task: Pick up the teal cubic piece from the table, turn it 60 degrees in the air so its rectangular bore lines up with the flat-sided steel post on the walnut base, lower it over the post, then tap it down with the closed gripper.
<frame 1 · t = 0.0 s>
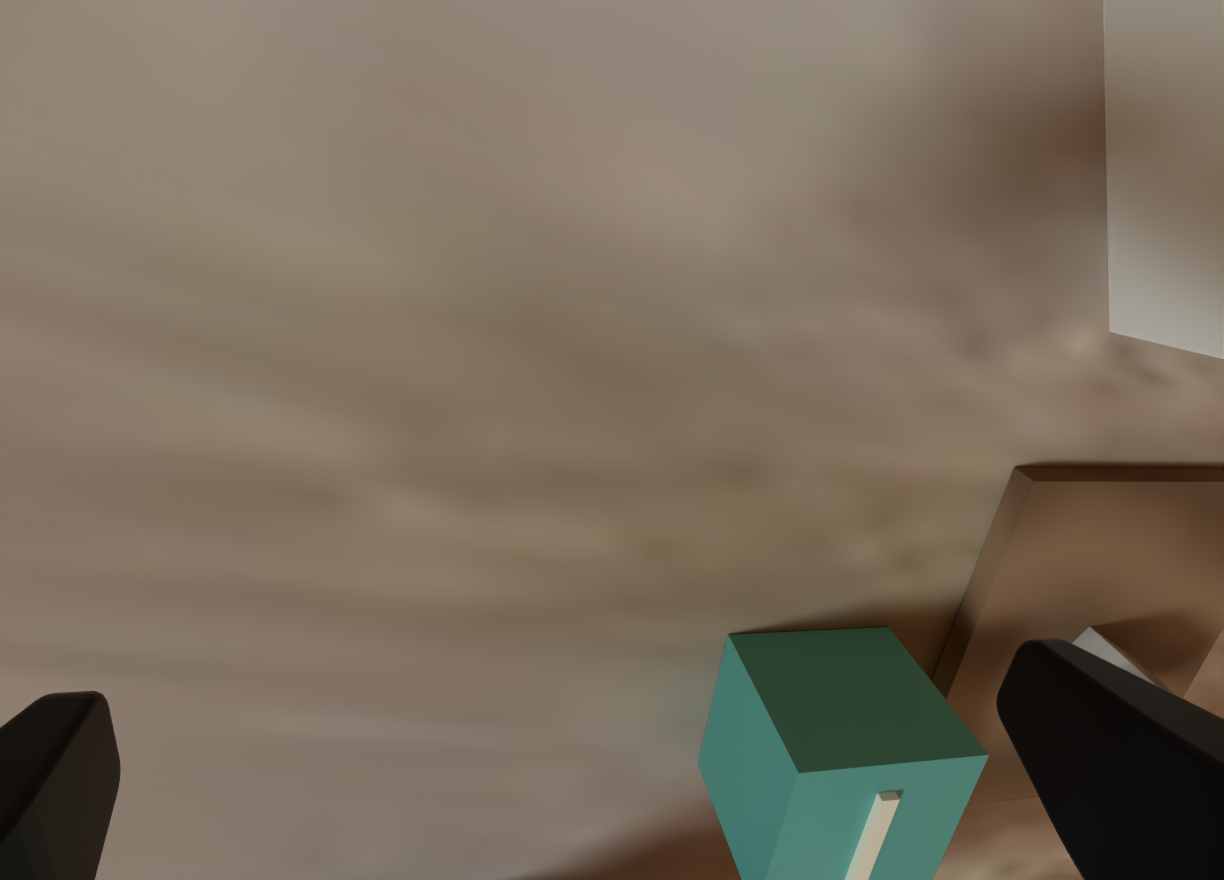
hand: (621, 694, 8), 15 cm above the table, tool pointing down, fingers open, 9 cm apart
teal cubic piece: (791, 696, 30), on the table
keyed post base: (1072, 640, 32), on the table
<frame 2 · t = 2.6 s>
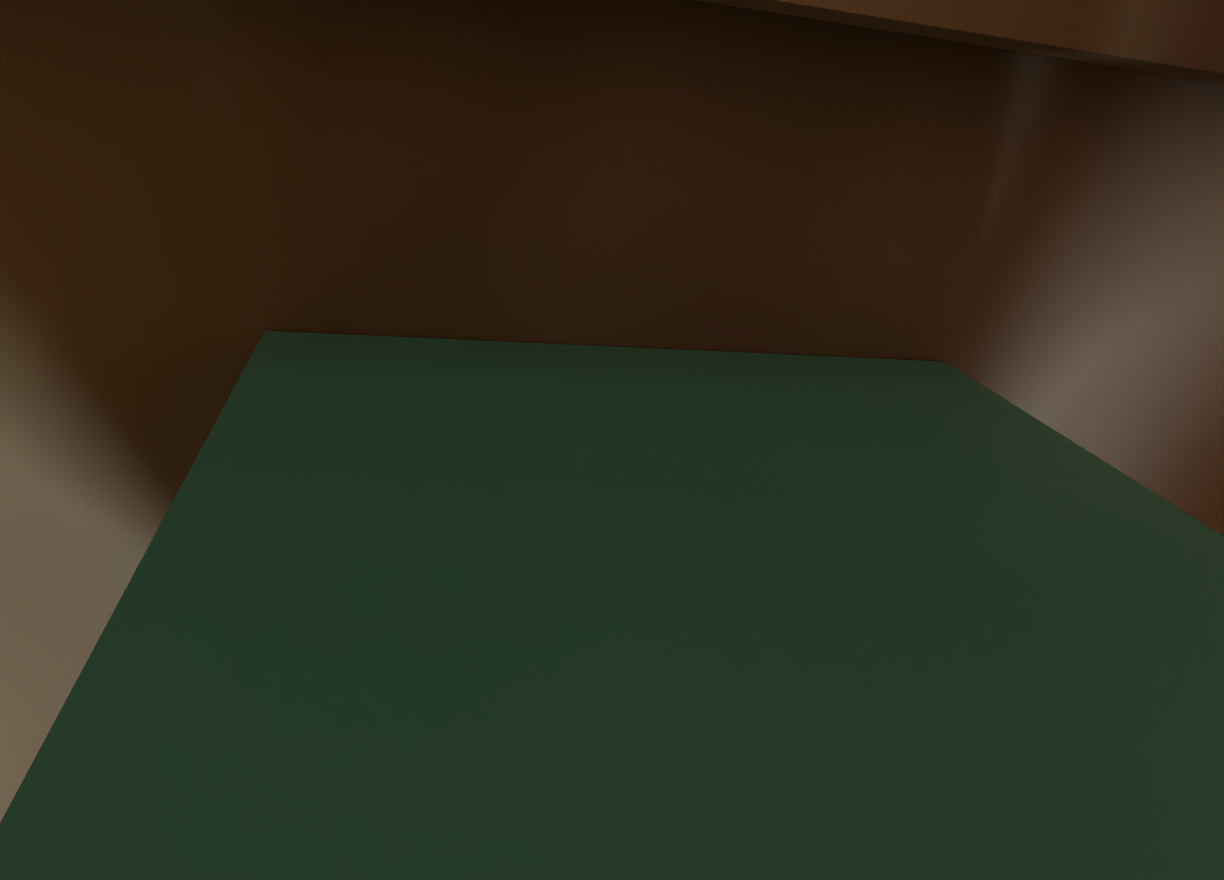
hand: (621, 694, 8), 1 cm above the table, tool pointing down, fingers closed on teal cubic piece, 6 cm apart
teal cubic piece: (600, 624, 9), on the table, touching gripper
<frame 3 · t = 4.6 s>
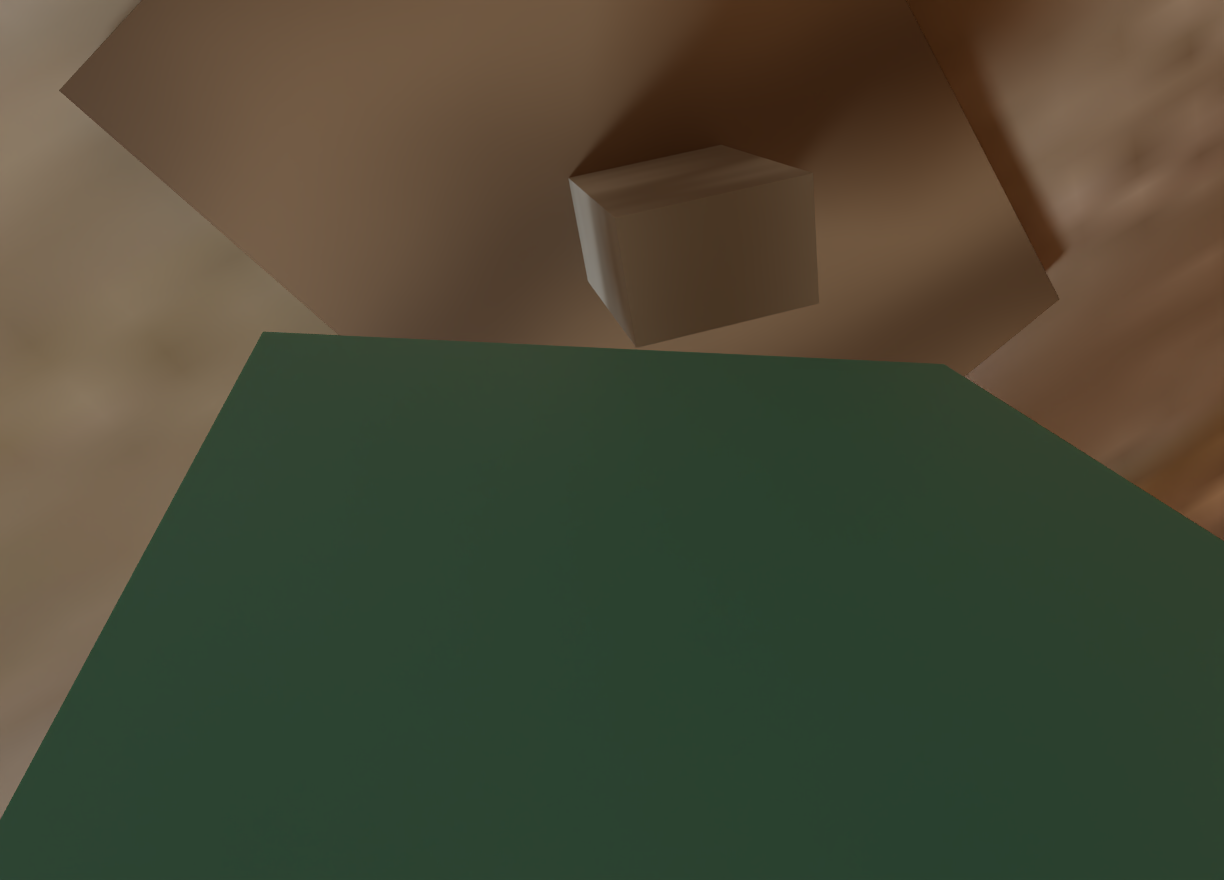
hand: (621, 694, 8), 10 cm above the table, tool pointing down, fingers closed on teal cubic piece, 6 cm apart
teal cubic piece: (599, 626, 9), point 9 cm above the table, touching gripper
keyed post base: (640, 205, 16), on the table
when the fingers open (3 cm above the table, at t = 6.8 s): teal cubic piece stays where it is, resting on keyed post base.
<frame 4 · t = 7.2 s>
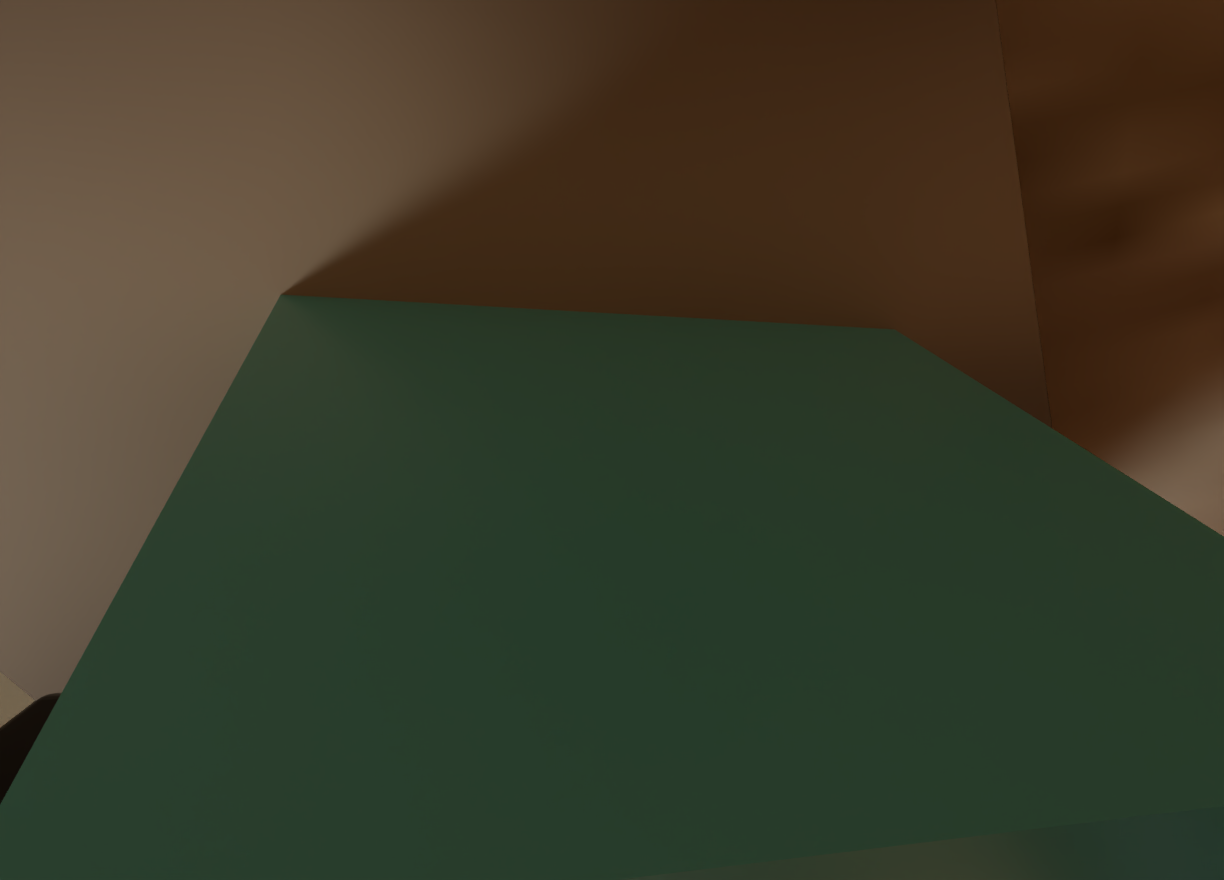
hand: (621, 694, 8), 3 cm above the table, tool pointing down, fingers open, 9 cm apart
teal cubic piece: (583, 571, 9), point 1 cm above the table, touching keyed post base
keyed post base: (574, 525, 10), on the table
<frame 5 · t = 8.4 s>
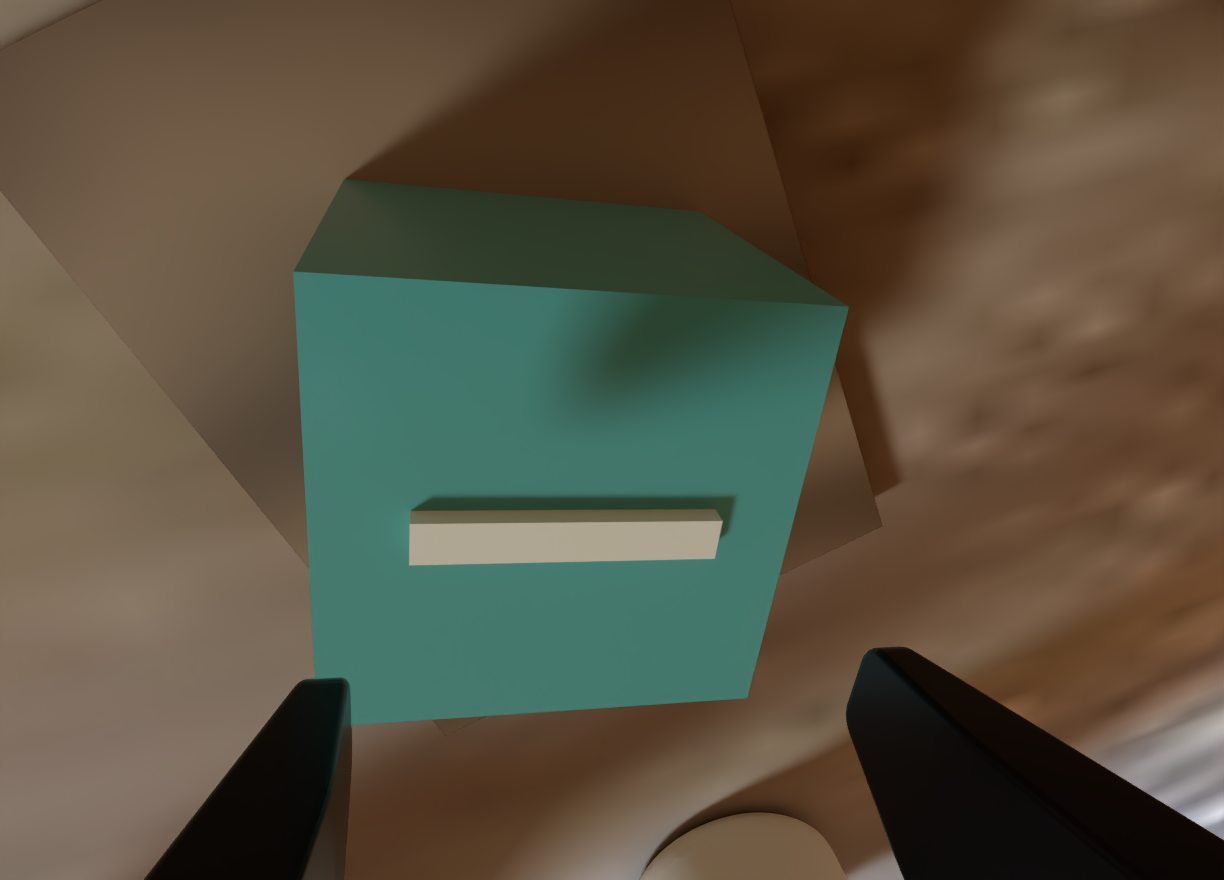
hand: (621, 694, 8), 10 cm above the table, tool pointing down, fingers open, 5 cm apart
teal cubic piece: (519, 363, 15), point 1 cm above the table, touching keyed post base
keyed post base: (516, 345, 16), on the table
water bottle: (724, 868, 26), on the table
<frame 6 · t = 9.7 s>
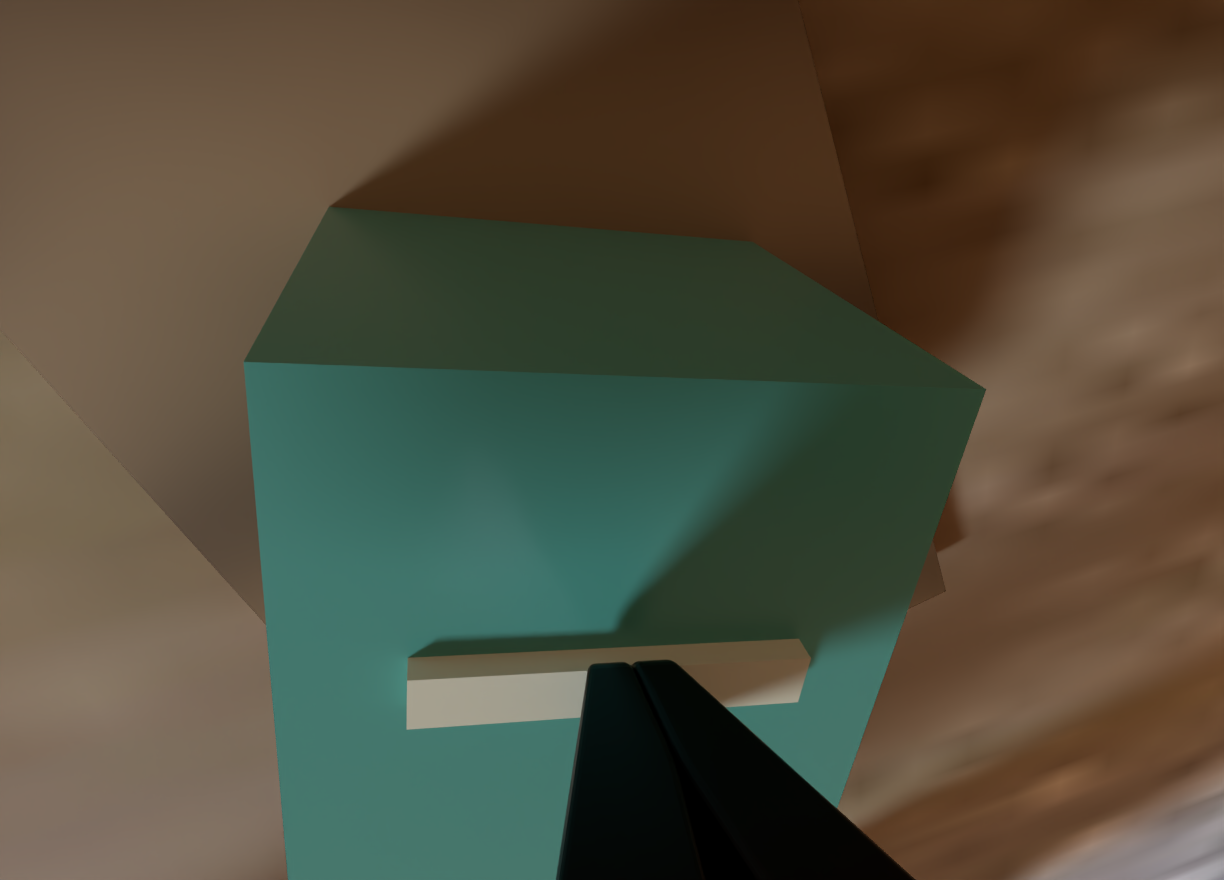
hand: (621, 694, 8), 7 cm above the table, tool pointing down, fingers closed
teal cubic piece: (537, 418, 13), point 1 cm above the table, touching keyed post base
keyed post base: (533, 394, 14), on the table
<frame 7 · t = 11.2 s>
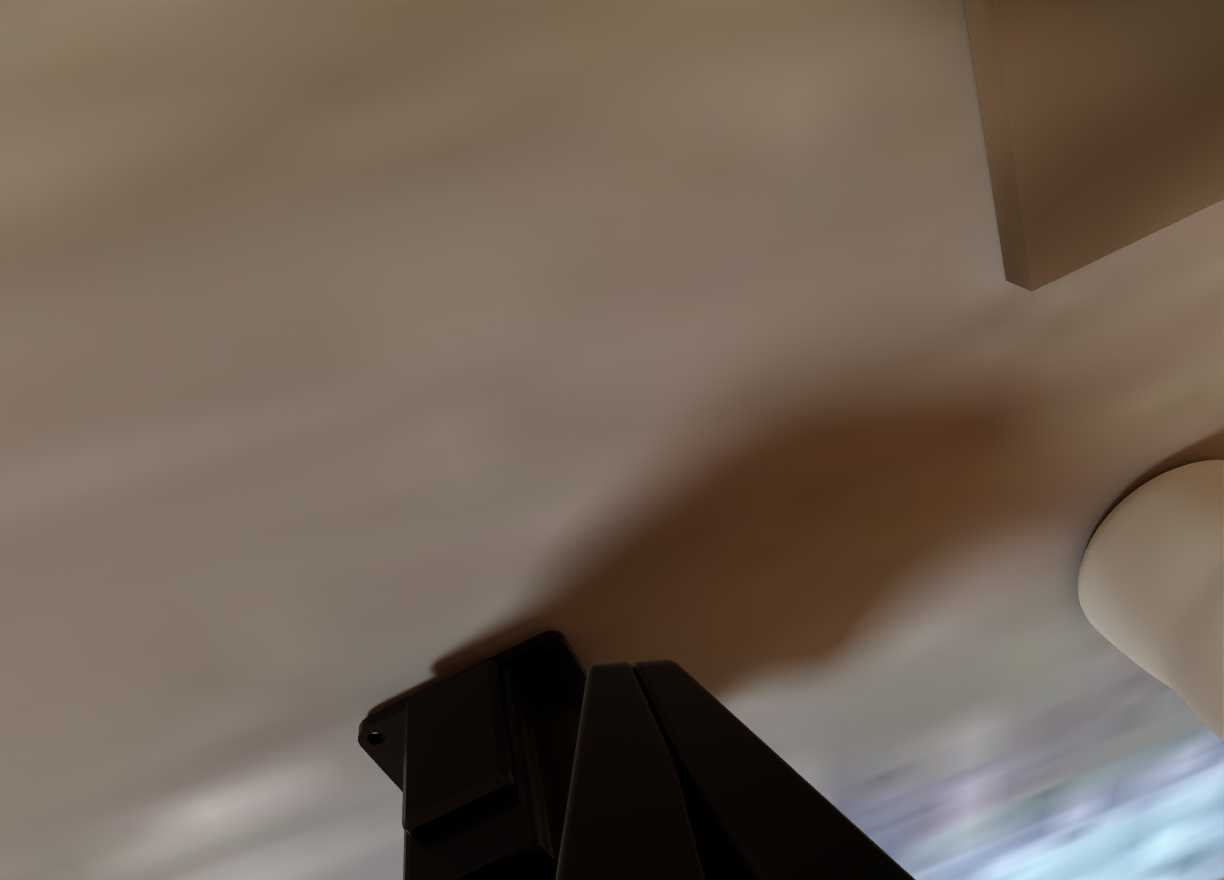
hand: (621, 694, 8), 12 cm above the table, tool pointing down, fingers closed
water bottle: (1156, 540, 27), on the table
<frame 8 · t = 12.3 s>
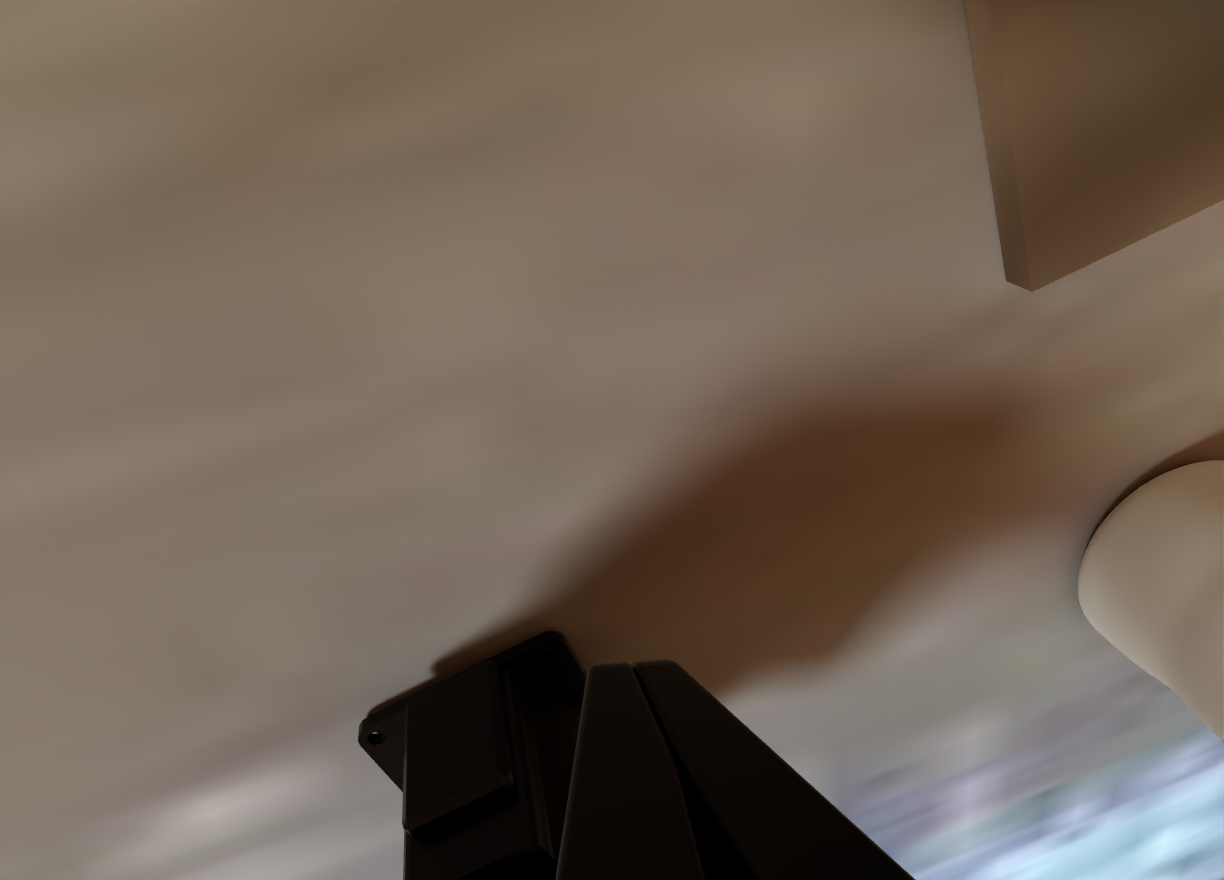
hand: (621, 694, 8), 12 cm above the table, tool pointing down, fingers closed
water bottle: (1156, 540, 27), on the table
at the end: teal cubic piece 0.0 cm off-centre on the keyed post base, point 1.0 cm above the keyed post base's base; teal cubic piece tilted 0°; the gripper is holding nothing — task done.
